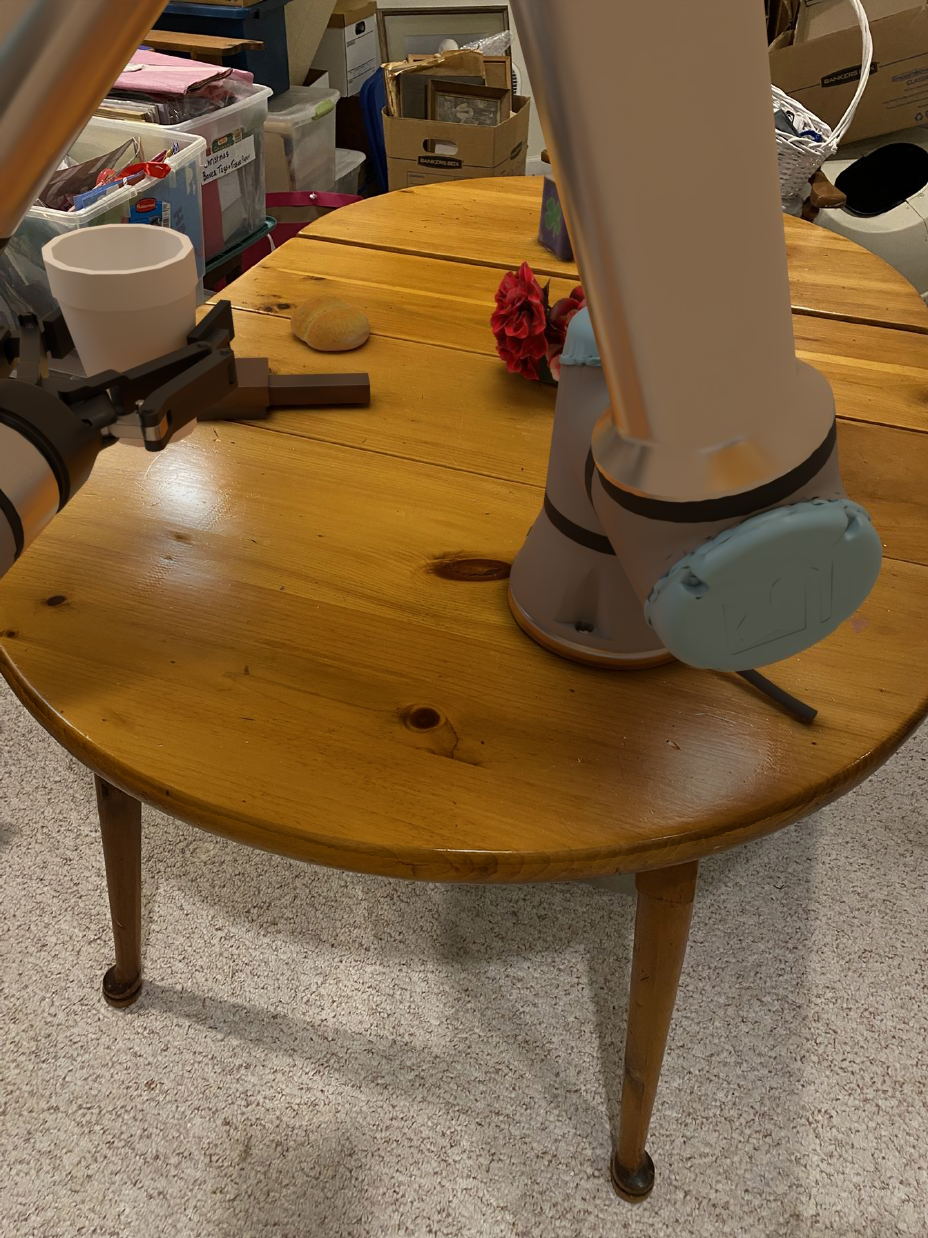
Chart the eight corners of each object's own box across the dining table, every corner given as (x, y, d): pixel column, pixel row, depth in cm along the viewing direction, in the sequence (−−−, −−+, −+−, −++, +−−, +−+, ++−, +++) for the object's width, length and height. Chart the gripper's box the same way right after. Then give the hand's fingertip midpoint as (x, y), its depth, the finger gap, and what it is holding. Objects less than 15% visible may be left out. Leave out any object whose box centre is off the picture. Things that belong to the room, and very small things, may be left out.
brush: (367, 387, 96) (366, 355, 93) (372, 416, 91) (371, 383, 89) (186, 392, 93) (181, 358, 91) (181, 422, 88) (176, 387, 86)
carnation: (606, 355, 122) (562, 476, 95) (512, 247, 117) (438, 342, 90) (704, 276, 113) (686, 384, 86) (607, 154, 108) (556, 228, 81)
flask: (534, 239, 133) (542, 159, 126) (552, 238, 134) (562, 158, 127) (561, 262, 126) (571, 179, 119) (580, 261, 127) (592, 178, 120)
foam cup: (228, 447, 67) (203, 266, 58) (93, 467, 64) (46, 281, 55) (204, 388, 73) (179, 218, 65) (82, 405, 70) (38, 229, 62)
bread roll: (325, 360, 100) (323, 324, 97) (280, 331, 105) (277, 296, 102) (386, 342, 104) (386, 307, 102) (340, 315, 109) (339, 281, 107)
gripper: (-163, 503, 54) (31, 343, 71) (201, 550, 52) (311, 375, 69) (-219, 384, 49) (3, 243, 66) (181, 432, 47) (304, 274, 64)
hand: (161, 310), depth 67 cm, fingers closed on foam cup, 9 cm apart
